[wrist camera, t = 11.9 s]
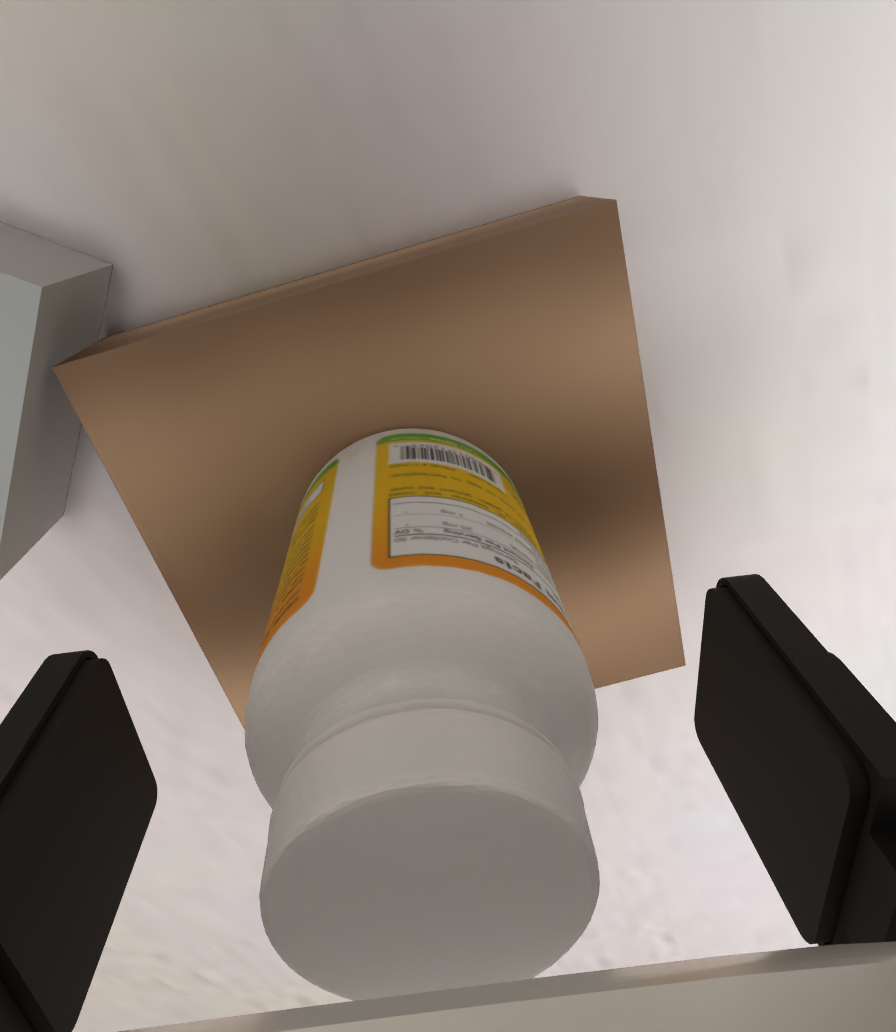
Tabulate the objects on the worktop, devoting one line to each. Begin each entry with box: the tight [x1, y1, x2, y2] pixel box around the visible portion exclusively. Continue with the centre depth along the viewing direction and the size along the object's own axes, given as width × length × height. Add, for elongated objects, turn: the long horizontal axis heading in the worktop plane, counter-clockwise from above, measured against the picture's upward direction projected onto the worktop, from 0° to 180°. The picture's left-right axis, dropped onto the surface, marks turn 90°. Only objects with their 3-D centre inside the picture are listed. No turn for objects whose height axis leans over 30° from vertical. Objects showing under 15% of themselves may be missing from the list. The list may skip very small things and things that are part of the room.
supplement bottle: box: [245, 428, 600, 1001], centre depth 12 cm, size 5×5×10 cm
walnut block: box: [52, 196, 685, 730], centre depth 18 cm, size 12×12×3 cm
